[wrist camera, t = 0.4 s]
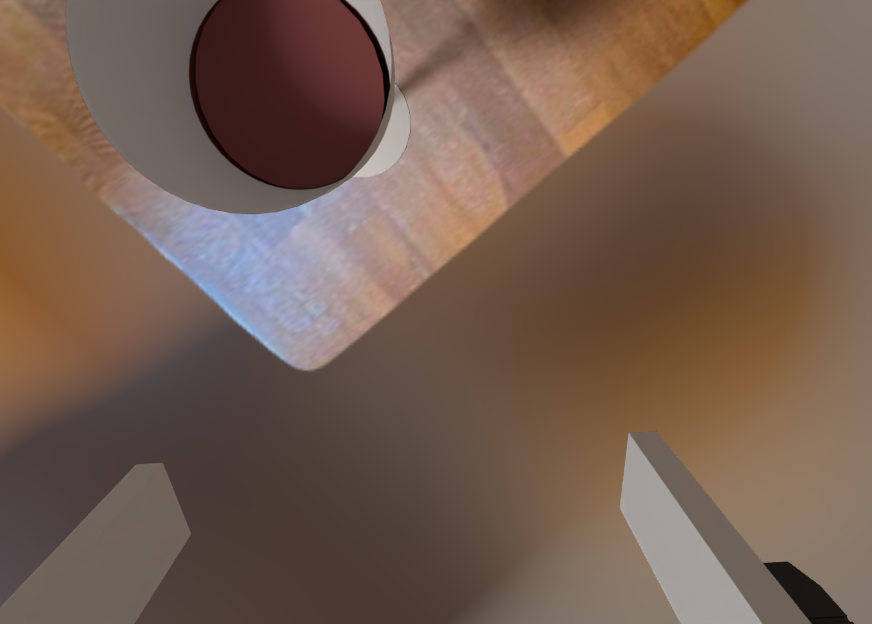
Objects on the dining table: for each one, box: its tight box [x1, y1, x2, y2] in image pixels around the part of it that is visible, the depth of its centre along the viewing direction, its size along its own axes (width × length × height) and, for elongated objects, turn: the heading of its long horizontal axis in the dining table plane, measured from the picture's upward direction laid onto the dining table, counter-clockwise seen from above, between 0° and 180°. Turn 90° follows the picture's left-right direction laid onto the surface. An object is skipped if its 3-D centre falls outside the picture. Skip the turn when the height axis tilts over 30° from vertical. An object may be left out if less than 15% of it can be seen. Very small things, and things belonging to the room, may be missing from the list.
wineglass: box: [66, 0, 410, 214], centre depth 23 cm, size 9×10×23 cm
